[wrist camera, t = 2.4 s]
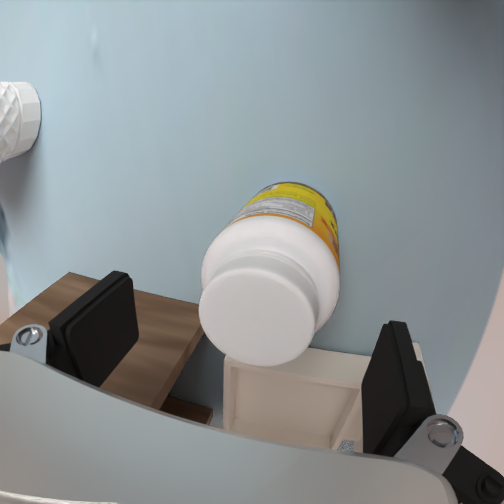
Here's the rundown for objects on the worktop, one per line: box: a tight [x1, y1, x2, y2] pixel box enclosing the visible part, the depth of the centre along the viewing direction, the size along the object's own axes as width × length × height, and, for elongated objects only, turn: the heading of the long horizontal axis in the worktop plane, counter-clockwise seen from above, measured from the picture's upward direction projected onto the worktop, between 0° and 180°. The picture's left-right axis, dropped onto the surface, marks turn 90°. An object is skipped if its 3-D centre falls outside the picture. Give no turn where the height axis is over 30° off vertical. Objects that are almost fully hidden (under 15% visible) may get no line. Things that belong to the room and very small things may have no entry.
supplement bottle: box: [199, 181, 340, 366], centre depth 15 cm, size 6×6×10 cm
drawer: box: [223, 342, 434, 453], centre depth 19 cm, size 14×14×11 cm
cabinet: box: [0, 272, 213, 425], centre depth 22 cm, size 14×14×13 cm
